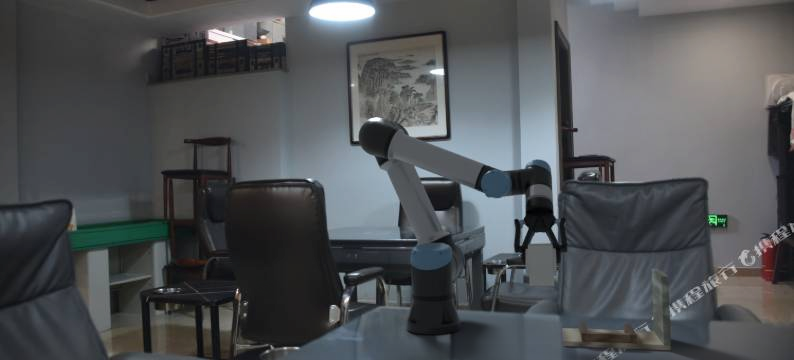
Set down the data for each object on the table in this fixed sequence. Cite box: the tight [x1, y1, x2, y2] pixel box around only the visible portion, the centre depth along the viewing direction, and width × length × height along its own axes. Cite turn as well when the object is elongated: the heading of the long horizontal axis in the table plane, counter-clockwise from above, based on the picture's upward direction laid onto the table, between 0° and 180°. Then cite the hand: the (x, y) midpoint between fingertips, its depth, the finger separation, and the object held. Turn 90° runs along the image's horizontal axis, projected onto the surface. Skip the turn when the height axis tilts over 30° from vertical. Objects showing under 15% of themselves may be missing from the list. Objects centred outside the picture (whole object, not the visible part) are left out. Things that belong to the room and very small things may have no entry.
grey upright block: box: [528, 242, 555, 287], centre depth 146 cm, size 6×6×10 cm
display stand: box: [561, 268, 672, 351], centre depth 143 cm, size 24×13×17 cm, turn 75°
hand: (541, 272), depth 143 cm, fingers closed on grey upright block, 6 cm apart
